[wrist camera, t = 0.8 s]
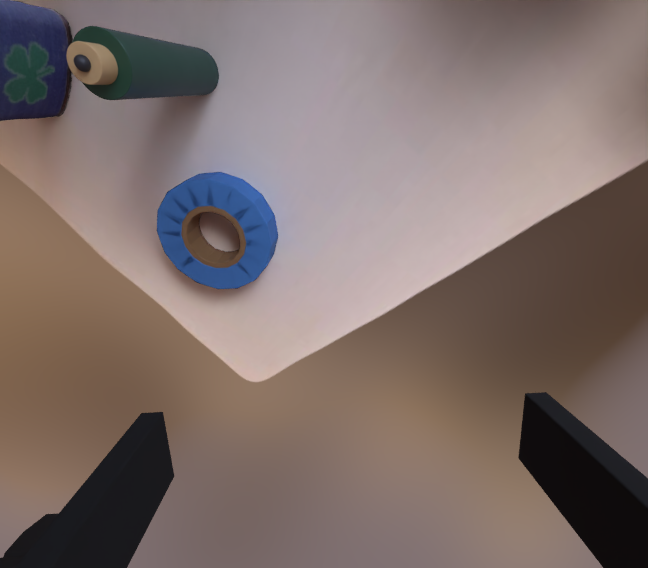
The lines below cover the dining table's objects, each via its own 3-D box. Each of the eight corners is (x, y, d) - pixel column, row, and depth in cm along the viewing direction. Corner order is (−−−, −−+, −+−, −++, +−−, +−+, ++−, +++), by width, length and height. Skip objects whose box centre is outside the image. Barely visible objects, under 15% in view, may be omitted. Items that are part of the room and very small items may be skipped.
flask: (45, 3, 30) (-100, -32, 21) (79, 23, 30) (-49, -3, 21) (38, 108, 35) (-84, 117, 25) (67, 124, 35) (-43, 138, 26)
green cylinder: (171, 63, 31) (29, 47, 18) (202, 38, 30) (72, 3, 17) (196, 102, 32) (80, 114, 20) (226, 81, 31) (124, 78, 18)
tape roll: (149, 204, 38) (133, 213, 36) (235, 150, 34) (224, 156, 32) (214, 290, 43) (204, 303, 40) (297, 251, 39) (292, 263, 36)
